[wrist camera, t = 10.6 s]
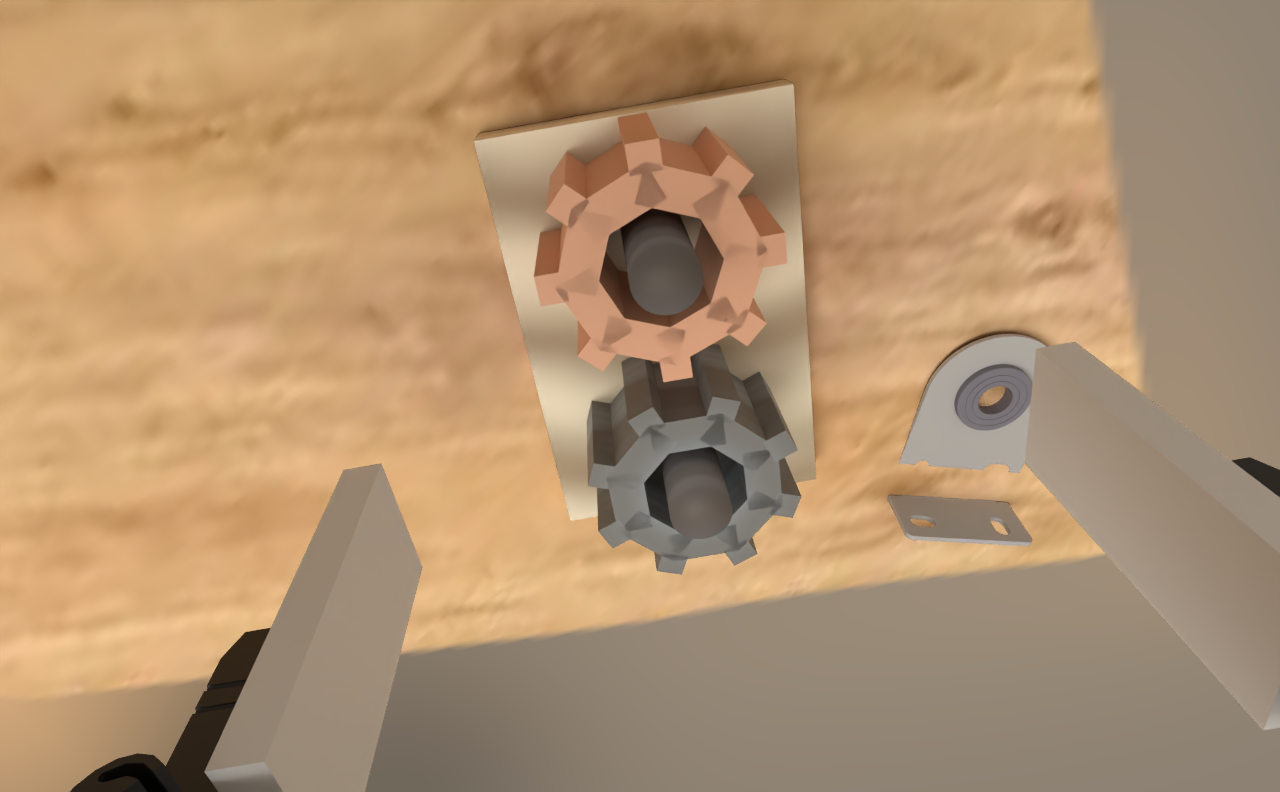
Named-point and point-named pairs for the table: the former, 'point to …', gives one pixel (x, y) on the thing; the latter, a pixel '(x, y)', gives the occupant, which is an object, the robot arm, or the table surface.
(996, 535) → the bracket
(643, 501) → the gear board
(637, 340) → the gear
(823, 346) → the table surface
